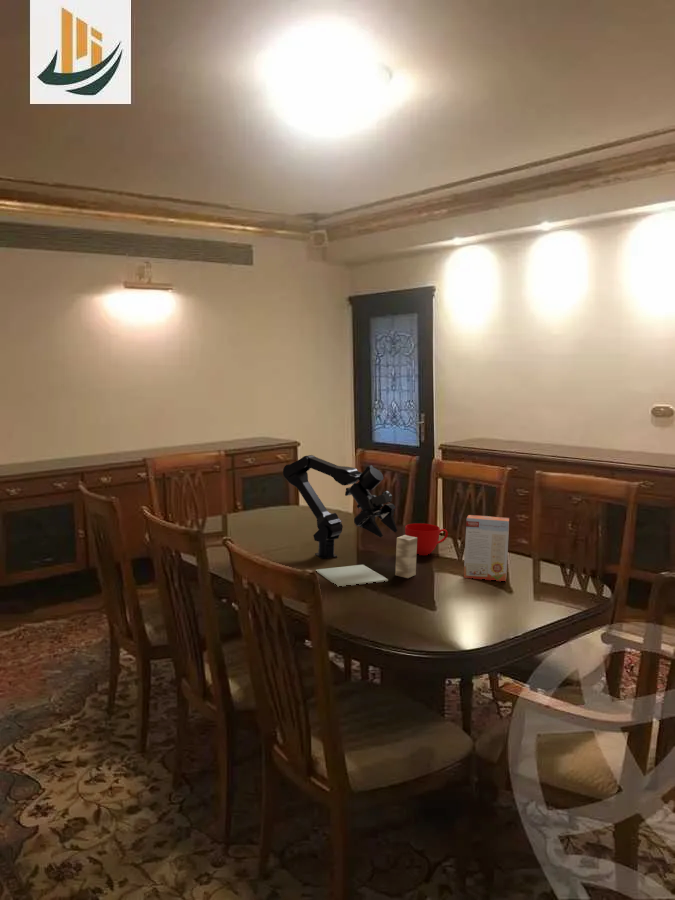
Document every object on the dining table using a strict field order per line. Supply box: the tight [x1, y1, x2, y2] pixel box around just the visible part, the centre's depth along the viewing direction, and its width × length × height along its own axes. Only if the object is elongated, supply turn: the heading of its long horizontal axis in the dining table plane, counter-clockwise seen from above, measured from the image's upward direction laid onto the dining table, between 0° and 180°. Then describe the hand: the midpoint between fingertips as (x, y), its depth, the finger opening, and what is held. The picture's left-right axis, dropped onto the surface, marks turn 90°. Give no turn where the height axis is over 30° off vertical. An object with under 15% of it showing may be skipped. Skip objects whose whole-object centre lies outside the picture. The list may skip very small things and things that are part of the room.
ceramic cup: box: [404, 522, 449, 556], centre depth 275 cm, size 13×17×10 cm
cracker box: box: [463, 514, 510, 582], centre depth 245 cm, size 14×6×21 cm, turn 74°
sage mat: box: [315, 564, 389, 588], centre depth 243 cm, size 18×18×1 cm
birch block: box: [394, 534, 418, 579], centre depth 246 cm, size 5×5×13 cm
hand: (389, 534), depth 249 cm, fingers open, 9 cm apart
